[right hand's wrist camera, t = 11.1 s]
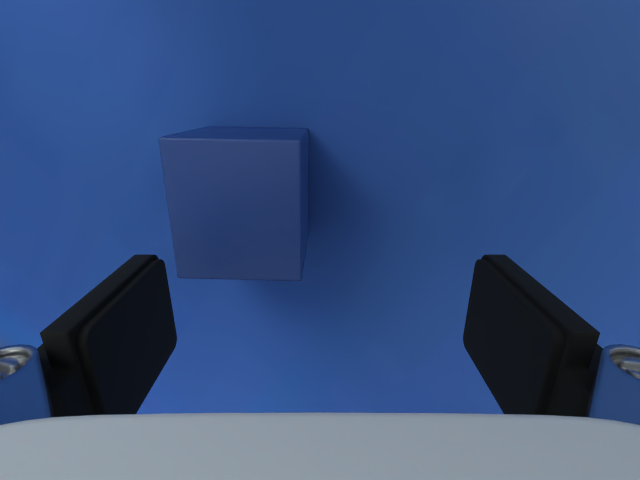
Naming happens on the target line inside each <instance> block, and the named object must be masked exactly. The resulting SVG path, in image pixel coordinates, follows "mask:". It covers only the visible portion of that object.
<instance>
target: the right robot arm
mask: <svg viewBox="0 0 640 480" xmlns="http://www.w3.org/2000/svg"><path fill="white" fill-rule="evenodd" d="M40 335H41V338H42V341H43V344H42V345H41V346H40V347H39V348H37V349H36V347H33V346H30V345H20V344H19V345H11V346H6V347H2V348H0V480H640V348H638V347H634V346H629V345H621V344H620V345H610V346H607V347H604V349H603V348H601V347H600V346H599V345H598V344H597V341H598V338H599V335H600V333H599V332H598V331H597V330H596V329H595V328H593V327H592V326H591V325H590V324H588V323H587V322H586V321H585V320H584V319H582V318H581V317H580V316H579V315H578V314H576V313H575V312H574V311H573V310H572V309H570V308H569V307H568V306H567V305H565V304H564V303H563V302H562V301H561V300H559V299H558V298H557V297H556V296H555V295H553V294H552V293H551V292H550V291H548V290H547V289H546V288H545V287H544V286H542V285H541V284H540V283H539V282H538V281H536V280H535V279H534V278H533V277H532V276H530V275H529V274H528V273H527V272H525V271H524V270H523V269H522V268H521V267H519V266H518V265H517V264H516V263H515V262H513V261H512V260H511V259H510V258H508V257H507V256H506V255H484V256H483V257H482V259H481V260H477V261H476V263H475V268H474V274H473V280H472V286H471V292H470V298H469V304H468V310H467V316H466V323H465V329H464V335H463V341H464V346H465V348H466V350H467V352H468V354H469V355H470V357H471V359H472V360H473V362H474V364H475V365H476V367H477V369H478V371H479V372H480V374H481V376H482V377H483V379H484V381H485V382H486V384H487V386H488V387H489V389H490V391H491V393H492V394H493V396H494V398H495V399H496V401H497V403H498V404H499V406H500V408H501V410H502V411H503V413H504V414H463V413H177V414H136V413H137V411H138V409H139V408H140V406H141V404H142V403H143V401H144V399H145V398H146V396H147V394H148V393H149V391H150V389H151V387H152V386H153V384H154V382H155V381H156V379H157V377H158V376H159V374H160V372H161V371H162V369H163V367H164V365H165V364H166V362H167V360H168V359H169V357H170V355H171V354H172V352H173V350H174V348H175V346H176V341H177V335H176V329H175V323H174V316H173V310H172V304H171V298H170V292H169V286H168V280H167V274H166V268H165V263H164V261H163V260H159V259H158V257H157V256H156V255H134V256H133V257H132V258H130V259H129V260H128V261H127V262H125V263H124V264H123V265H122V266H121V267H119V268H118V269H117V270H116V271H115V272H113V273H112V274H111V275H110V276H108V277H107V278H106V279H105V280H104V281H102V282H101V283H100V284H99V285H98V286H96V287H95V288H94V289H93V290H92V291H90V292H89V293H88V294H87V295H85V296H84V297H83V298H82V299H81V300H79V301H78V302H77V303H76V304H75V305H73V306H72V307H71V308H70V309H68V310H67V311H66V312H65V313H64V314H62V315H61V316H60V317H59V318H58V319H56V320H55V321H54V322H53V323H51V324H50V325H49V326H48V327H47V328H45V329H44V330H43V331H42V332H41V333H40Z"/></svg>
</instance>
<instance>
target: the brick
mask: <svg viewBox="0 0 640 480" xmlns="http://www.w3.org/2000/svg"><path fill="white" fill-rule="evenodd" d="M159 145H160V153H161V160H162V167H163V174H164V181H165V189H166V196H167V203H168V210H169V217H170V225H171V232H172V239H173V246H174V254H175V261H176V268H177V275H178V278H200V279H242V280H283V281H300V280H301V279H302V272H303V266H304V259H305V253H306V246H307V239H308V199H309V130H308V129H307V128H256V127H204V128H199V129H195V130H190V131H186V132H181V133H177V134H172V135H168V136H163V137H160V138H159Z"/></svg>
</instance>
